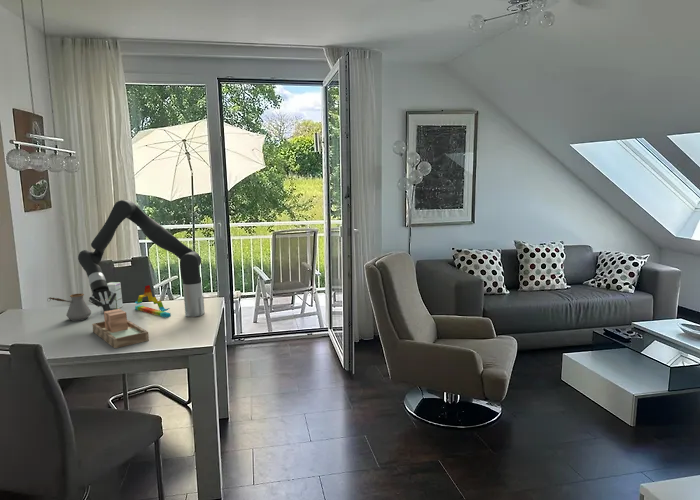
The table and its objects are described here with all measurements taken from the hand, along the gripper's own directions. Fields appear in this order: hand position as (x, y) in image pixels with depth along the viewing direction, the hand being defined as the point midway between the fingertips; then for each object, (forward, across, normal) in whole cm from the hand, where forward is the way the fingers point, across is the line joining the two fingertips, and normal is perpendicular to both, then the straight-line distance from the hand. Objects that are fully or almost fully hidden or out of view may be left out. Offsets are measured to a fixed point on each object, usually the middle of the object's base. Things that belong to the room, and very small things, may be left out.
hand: (107, 311), depth 239 cm
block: (+13, 0, -4) cm, 13 cm away
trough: (+18, 0, -6) cm, 18 cm away
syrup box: (-22, +15, +35) cm, 44 cm away
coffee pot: (-14, -10, +26) cm, 32 cm away
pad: (+21, 0, -9) cm, 23 cm away
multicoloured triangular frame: (-4, +26, +16) cm, 31 cm away
